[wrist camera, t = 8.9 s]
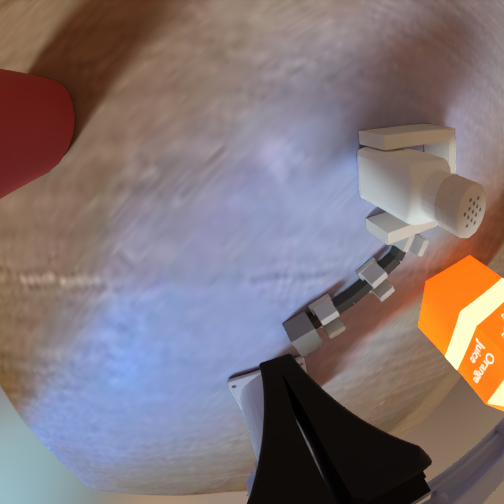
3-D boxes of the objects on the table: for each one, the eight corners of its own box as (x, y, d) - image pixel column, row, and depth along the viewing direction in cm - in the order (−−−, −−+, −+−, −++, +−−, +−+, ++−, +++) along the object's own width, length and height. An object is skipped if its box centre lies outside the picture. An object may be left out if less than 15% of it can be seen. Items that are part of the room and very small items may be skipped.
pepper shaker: (355, 198, 20) (446, 254, 12) (352, 146, 18) (456, 179, 10) (394, 190, 21) (483, 237, 13) (393, 142, 19) (493, 173, 11)
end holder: (430, 207, 23) (452, 219, 20) (365, 229, 22) (387, 245, 19) (429, 123, 19) (455, 128, 16) (358, 131, 18) (383, 135, 15)
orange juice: (425, 280, 27) (546, 400, 10) (470, 253, 28) (579, 344, 10) (417, 327, 31) (508, 436, 13) (459, 299, 31) (548, 387, 14)
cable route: (419, 233, 24) (435, 243, 21) (296, 341, 26) (305, 359, 24) (410, 210, 22) (428, 220, 20) (277, 327, 24) (286, 346, 22)
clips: (419, 239, 24) (434, 249, 22) (325, 331, 26) (335, 346, 24) (405, 209, 22) (422, 218, 20) (300, 311, 24) (310, 327, 22)
